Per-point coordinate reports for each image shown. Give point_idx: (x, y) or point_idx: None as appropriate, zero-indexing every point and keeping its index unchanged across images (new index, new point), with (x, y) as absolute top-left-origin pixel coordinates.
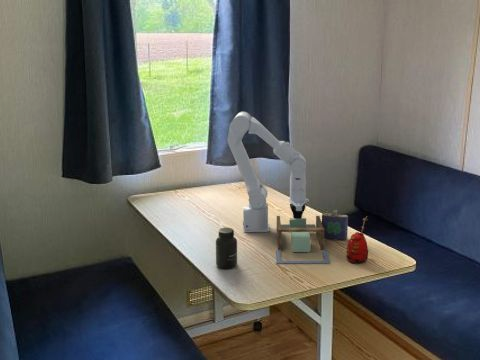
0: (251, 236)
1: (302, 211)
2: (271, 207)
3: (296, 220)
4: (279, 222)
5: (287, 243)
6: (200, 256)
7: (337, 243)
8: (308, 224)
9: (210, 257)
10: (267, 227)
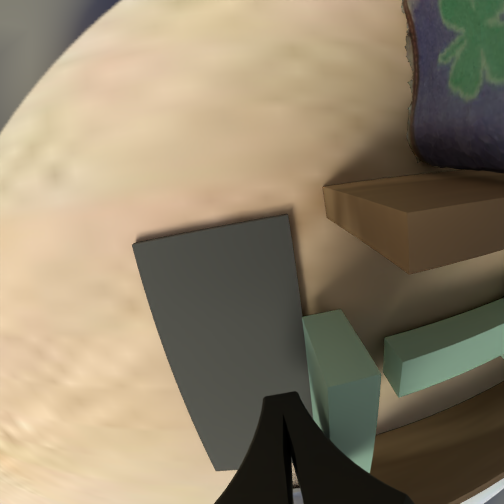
0: None
1: (375, 484)
2: (5, 456)
3: (372, 440)
4: (485, 485)
5: (488, 366)
6: (481, 499)
7: None
8: (150, 302)
9: (495, 485)
10: (301, 499)
